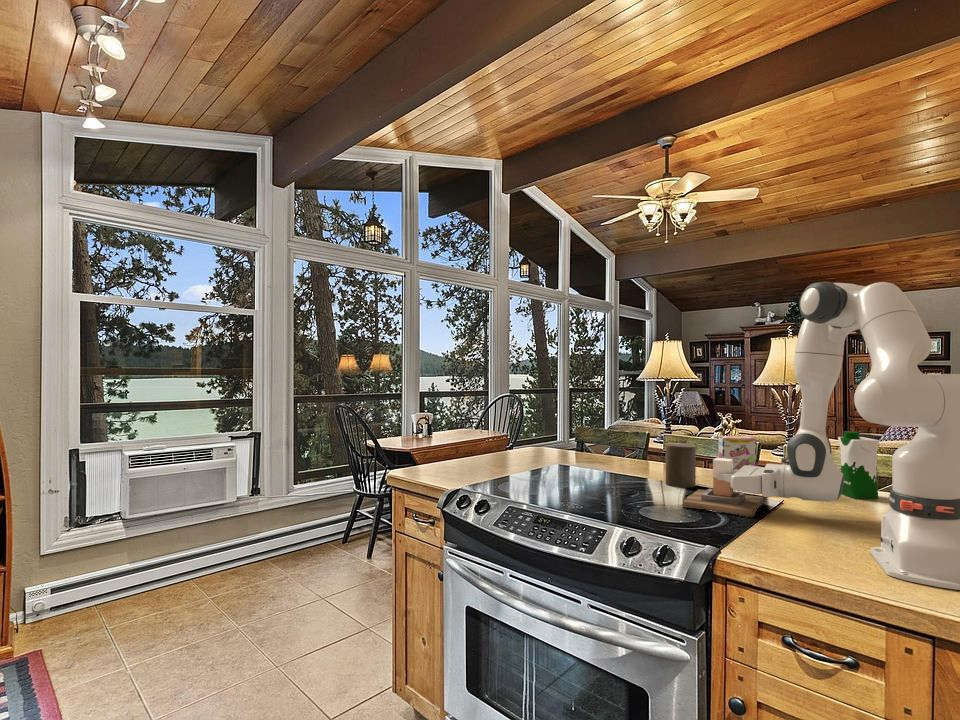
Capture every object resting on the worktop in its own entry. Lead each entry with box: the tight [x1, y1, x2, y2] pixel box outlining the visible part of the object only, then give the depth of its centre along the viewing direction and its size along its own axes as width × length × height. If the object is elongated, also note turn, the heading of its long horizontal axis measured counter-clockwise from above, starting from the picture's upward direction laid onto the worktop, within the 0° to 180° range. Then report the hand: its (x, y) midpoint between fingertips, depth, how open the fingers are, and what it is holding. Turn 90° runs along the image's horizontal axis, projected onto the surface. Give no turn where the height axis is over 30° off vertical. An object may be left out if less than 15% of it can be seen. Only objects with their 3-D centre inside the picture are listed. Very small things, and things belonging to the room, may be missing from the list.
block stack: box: [712, 457, 734, 496], centre depth 157 cm, size 4×4×10 cm
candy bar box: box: [717, 435, 757, 470], centre depth 185 cm, size 11×5×16 cm, turn 84°
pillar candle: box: [665, 441, 697, 488], centre depth 186 cm, size 10×10×15 cm
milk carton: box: [837, 430, 880, 500], centre depth 168 cm, size 9×9×20 cm
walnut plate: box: [682, 488, 764, 516], centre depth 157 cm, size 18×18×4 cm
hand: (719, 474), depth 158 cm, fingers closed on block stack, 4 cm apart
